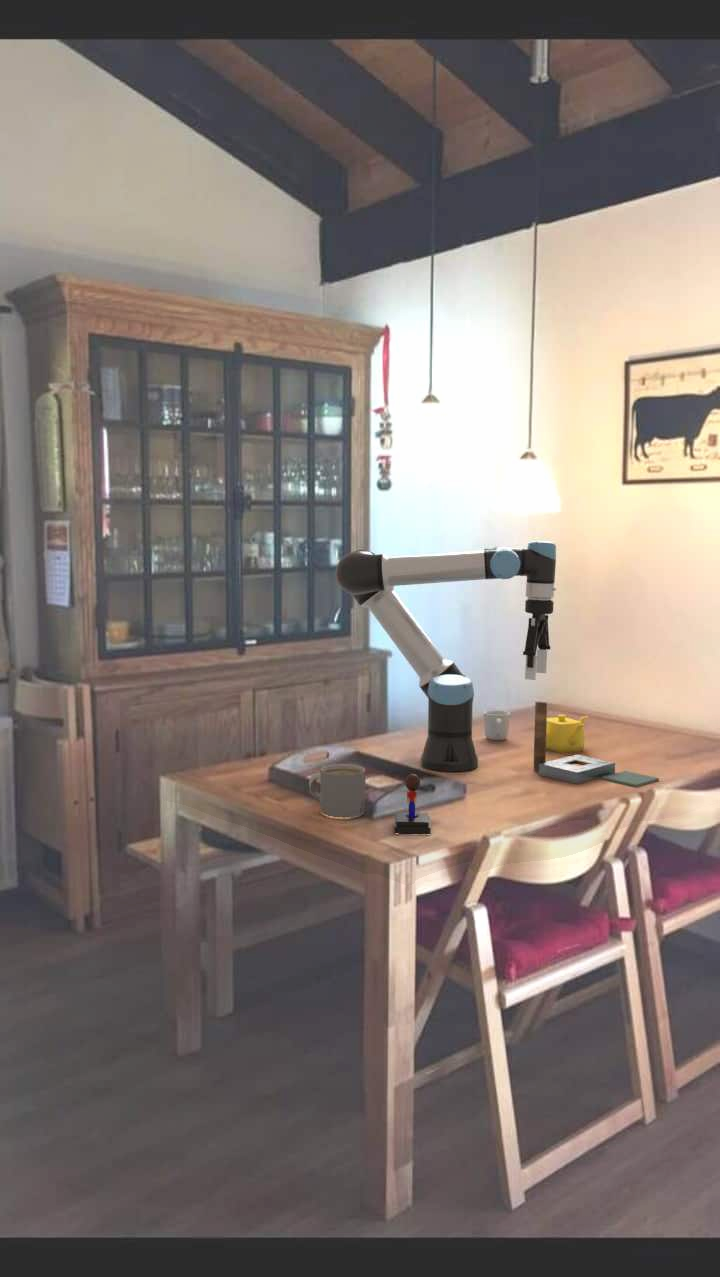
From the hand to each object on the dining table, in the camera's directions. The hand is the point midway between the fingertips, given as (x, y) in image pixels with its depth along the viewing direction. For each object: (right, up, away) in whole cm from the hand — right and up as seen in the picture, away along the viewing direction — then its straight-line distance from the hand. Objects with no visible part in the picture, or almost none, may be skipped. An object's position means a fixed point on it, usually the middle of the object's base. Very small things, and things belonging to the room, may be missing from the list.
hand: (535, 676), depth 284 cm
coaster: (+20, -25, -22) cm, 39 cm away
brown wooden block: (-1, -24, -13) cm, 27 cm away
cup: (-8, -20, +24) cm, 32 cm away
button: (+8, -23, -17) cm, 30 cm away
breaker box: (+8, -25, -17) cm, 31 cm away
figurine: (-37, -30, -64) cm, 80 cm away
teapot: (+10, -21, +14) cm, 27 cm away
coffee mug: (-53, -29, -52) cm, 80 cm away
